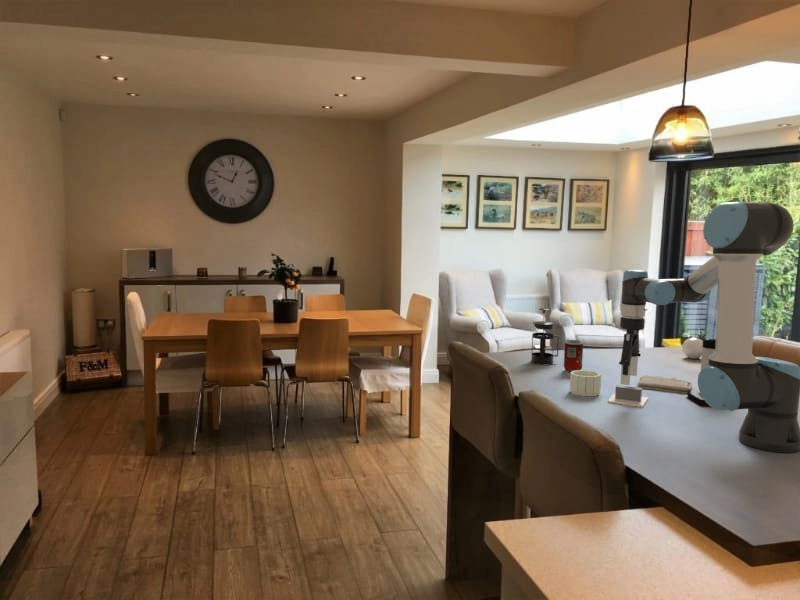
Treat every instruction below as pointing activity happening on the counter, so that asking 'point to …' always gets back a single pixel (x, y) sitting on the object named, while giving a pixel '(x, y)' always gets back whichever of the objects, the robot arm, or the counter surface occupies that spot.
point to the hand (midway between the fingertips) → (628, 379)
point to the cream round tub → (585, 383)
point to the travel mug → (707, 351)
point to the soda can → (573, 355)
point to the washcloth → (664, 384)
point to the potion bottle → (692, 348)
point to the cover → (628, 396)
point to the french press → (543, 342)
